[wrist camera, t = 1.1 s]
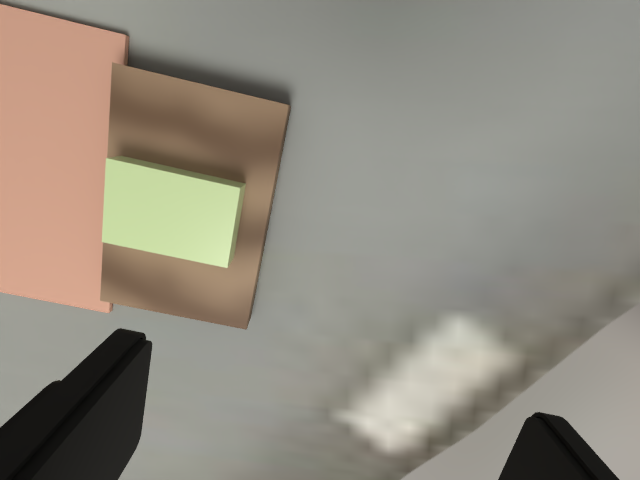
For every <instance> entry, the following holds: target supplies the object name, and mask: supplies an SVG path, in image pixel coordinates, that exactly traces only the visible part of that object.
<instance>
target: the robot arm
mask: <svg viewBox="0 0 640 480" xmlns="http://www.w3.org/2000/svg"><path fill="white" fill-rule="evenodd" d="M151 351H152V342H151V341H148V340H146V336H145V334H144V333H141V332H136V331H131V330H126V329H121V328H120V329H117V330H116V331H114V332H113V333H112V334H111V335H110V336H109V337H108V338H107V339H106V340H105V341H104V342H103V343H102V344H100V345H99V346H98V347H97V348H96V349H95V350H94V351H93V352H92V353H91V354H90V355H89V356H88V357H86V358H85V359H84V360H83V361H82V362H81V363H80V364H79V365H78V366H77V367H76V368H75V369H74V370H72V371H71V372H70V373H69V374H68V375H67V376H66V377H65V378H64V379H63V380H62V381H60V380H58V381H54V382H52V383H51V384H49V385H48V386H46V387H45V388H44V389H43V390H42V391H41V392H40V393H38V394H37V395H36V396H35V397H34V398H33V399H32V400H31V401H29V402H28V403H27V404H26V405H25V406H24V407H23V408H22V409H21V410H19V411H18V412H17V413H16V414H15V415H14V416H13V417H12V418H11V419H9V420H8V421H7V422H6V423H5V424H4V425H3V426H2V427H1V428H0V480H118V478H119V477H120V475H121V473H122V472H123V470H124V468H125V467H126V465H127V463H128V462H129V460H130V458H131V457H132V455H133V453H134V451H135V450H136V447H137V445H138V443H139V440H140V436H141V431H142V423H143V415H144V407H145V399H146V391H147V383H148V375H149V367H150V359H151ZM498 480H619V479H618V478H617V477H616V475H615V474H614V473H613V472H612V471H611V470H610V469H609V468H608V466H607V465H606V464H605V463H604V462H603V461H602V460H601V459H600V458H599V456H598V455H597V454H596V453H595V452H594V451H593V450H592V449H591V447H590V446H589V445H588V444H587V443H586V442H585V441H584V440H583V438H582V437H581V436H580V435H579V434H578V433H577V432H576V431H575V430H574V429H573V427H572V426H571V425H570V424H569V423H568V422H567V421H566V420H565V419H564V418H562V417H560V416H555V415H550V414H545V413H540V412H538V413H535V414H533V415H532V416H531V417H529V418H527V419H526V421H525V422H524V425H523V427H522V429H521V431H520V433H519V435H518V438H517V440H516V442H515V444H514V446H513V449H512V451H511V453H510V455H509V457H508V459H507V462H506V464H505V466H504V468H503V470H502V473H501V475H500V477H499V479H498Z"/></svg>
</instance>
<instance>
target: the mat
mask: <svg viewBox="0 0 640 480" xmlns="http://www.w3.org/2000/svg"><path fill="white" fill-rule="evenodd" d="M128 48H129V36H127V35H124V34H120V33H116V32H112V31H108V30H103V29H99V28H95V27H91V26H87V25H83V24H79V23H75V22H71V21H67V20H63V19H59V18H55V17H51V16H47V15H43V14H39V13H35V12H31V11H27V10H23V9H19V8H14V7H10V6H6V5H2V4H0V292H3V293H8V294H13V295H18V296H23V297H29V298H34V299H39V300H44V301H49V302H54V303H60V304H65V305H70V306H75V307H80V308H85V309H90V310H96V311H101V312H106V313H110V312H111V311H112V306H113V303H109V302H104V301H100V292H101V272H102V252H103V242H102V227H103V206H104V186H105V166H106V158H107V153H108V133H109V113H110V93H111V73H112V62H113V63H117V64H121V65H125V66H127V64H128Z"/></svg>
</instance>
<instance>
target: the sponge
mask: <svg viewBox="0 0 640 480" xmlns="http://www.w3.org/2000/svg"><path fill="white" fill-rule="evenodd" d="M245 187H246V184H245V183H241V182H236V181H232V180H227V179H223V178H219V177H214V176H210V175H205V174H201V173H196V172H192V171H187V170H183V169H178V168H174V167H170V166H165V165H161V164H156V163H152V162H147V161H143V160H138V159H134V158H129V157H125V156H117V157H110V158H106V166H105V186H104V206H103V227H102V242H104V243H108V244H113V245H118V246H123V247H128V248H133V249H137V250H142V251H147V252H152V253H157V254H162V255H166V256H171V257H176V258H181V259H186V260H190V261H195V262H200V263H205V264H210V265H215V266H219V267H224V268H228V266H229V265H230V263H231V262H232V260H233V259H234V253H235V247H236V241H237V235H238V229H239V223H240V217H241V211H242V205H243V199H244V193H245Z"/></svg>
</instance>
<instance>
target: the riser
mask: <svg viewBox="0 0 640 480" xmlns="http://www.w3.org/2000/svg"><path fill="white" fill-rule="evenodd" d="M290 109H291V106H289V105H287V104H283V103H278V102H274V101H270V100H266V99H262V98H258V97H254V96H249V95H245V94H241V93H237V92H233V91H229V90H225V89H220V88H216V87H212V86H208V85H204V84H200V83H196V82H191V81H187V80H183V79H179V78H175V77H171V76H167V75H162V74H158V73H154V72H150V71H146V70H142V69H138V68H133V67H129V66H125V65H121V64H117V63H113V62H112V73H111V93H110V113H109V133H108V153H107V158H110V157H117V156H125V157H129V158H134V159H138V160H143V161H147V162H152V163H156V164H161V165H165V166H170V167H174V168H178V169H183V170H187V171H192V172H196V173H201V174H205V175H210V176H214V177H219V178H223V179H227V180H232V181H236V182H241V183H245V184H246V187H245V193H244V199H243V205H242V211H241V217H240V223H239V229H238V235H237V241H236V247H235V253H234V259H233V260H232V262H231V263H230V265H229V266H228V268H224V267H219V266H215V265H210V264H205V263H200V262H195V261H190V260H186V259H181V258H176V257H171V256H166V255H162V254H157V253H152V252H147V251H142V250H137V249H133V248H128V247H123V246H118V245H113V244H108V243H104V242H103V252H102V272H101V292H100V301H104V302H109V303H114V304H119V305H124V306H129V307H134V308H140V309H145V310H150V311H155V312H160V313H165V314H170V315H175V316H180V317H185V318H191V319H196V320H201V321H206V322H211V323H216V324H221V325H226V326H231V327H236V328H242V329H247V326H248V324H249V321H250V318H251V313H252V308H253V303H254V298H255V292H256V287H257V282H258V277H259V271H260V266H261V261H262V256H263V251H264V245H265V240H266V235H267V230H268V224H269V219H270V214H271V209H272V203H273V198H274V193H275V188H276V183H277V177H278V172H279V167H280V162H281V156H282V151H283V146H284V141H285V135H286V130H287V125H288V120H289V115H290Z"/></svg>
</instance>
